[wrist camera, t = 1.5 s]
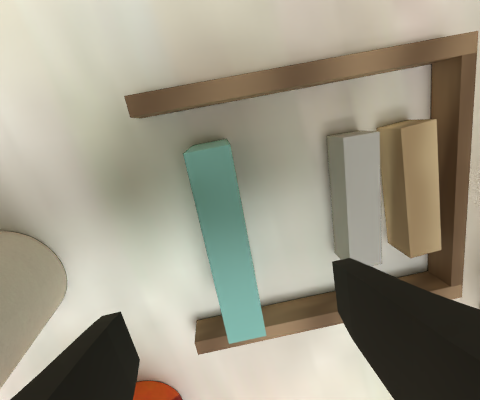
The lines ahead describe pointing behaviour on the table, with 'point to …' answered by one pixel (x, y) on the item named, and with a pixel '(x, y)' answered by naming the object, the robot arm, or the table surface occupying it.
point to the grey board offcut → (356, 195)
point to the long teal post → (225, 238)
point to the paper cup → (155, 391)
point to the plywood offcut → (411, 186)
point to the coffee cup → (25, 295)
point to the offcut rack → (338, 69)
